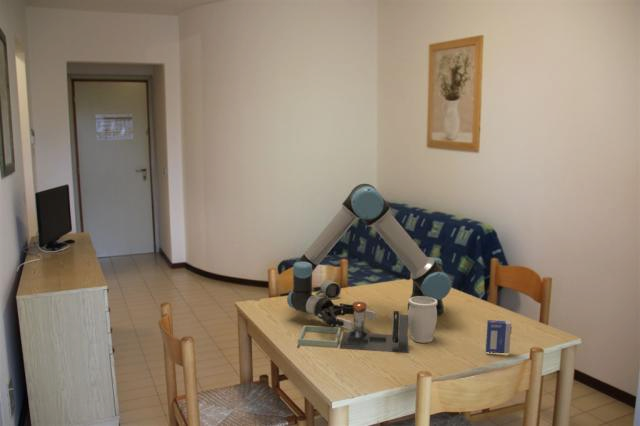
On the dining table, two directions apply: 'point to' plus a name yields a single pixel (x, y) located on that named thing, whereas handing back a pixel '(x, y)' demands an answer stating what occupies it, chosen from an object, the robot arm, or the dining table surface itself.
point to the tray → (319, 342)
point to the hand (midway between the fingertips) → (363, 320)
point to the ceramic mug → (329, 290)
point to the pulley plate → (381, 338)
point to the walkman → (498, 336)
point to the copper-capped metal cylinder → (359, 319)
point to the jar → (422, 318)
